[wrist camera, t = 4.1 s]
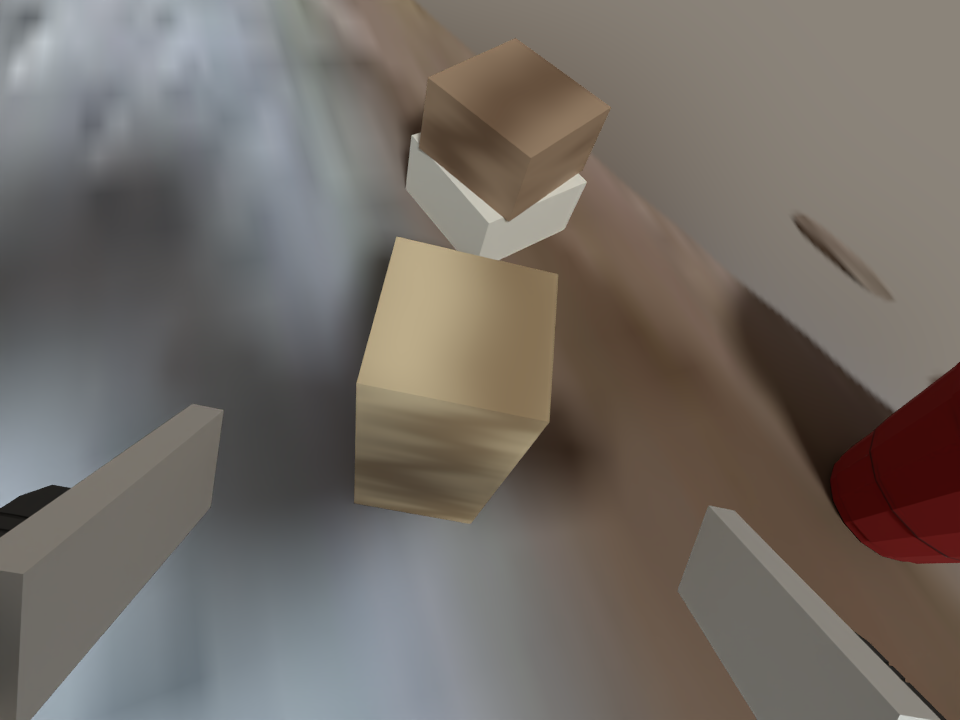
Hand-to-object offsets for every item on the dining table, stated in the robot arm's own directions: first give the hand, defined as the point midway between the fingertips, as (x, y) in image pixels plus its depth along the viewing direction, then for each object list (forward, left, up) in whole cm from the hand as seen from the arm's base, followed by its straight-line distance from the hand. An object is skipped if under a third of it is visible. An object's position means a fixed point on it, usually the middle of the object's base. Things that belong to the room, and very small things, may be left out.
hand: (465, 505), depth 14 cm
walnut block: (-14, +15, -5) cm, 21 cm away
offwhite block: (-15, +15, -9) cm, 23 cm away
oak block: (-4, +3, -9) cm, 10 cm away
